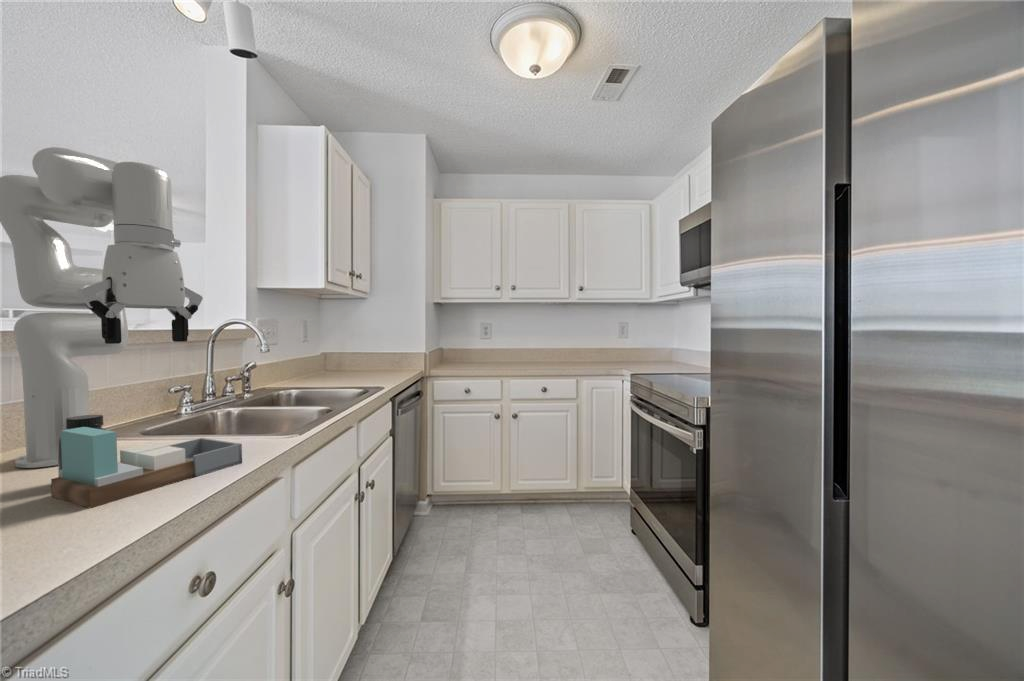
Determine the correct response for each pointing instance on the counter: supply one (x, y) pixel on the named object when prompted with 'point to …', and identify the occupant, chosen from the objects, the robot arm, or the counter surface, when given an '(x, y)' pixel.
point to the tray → (211, 454)
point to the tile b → (161, 458)
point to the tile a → (131, 456)
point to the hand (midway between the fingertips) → (148, 342)
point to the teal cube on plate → (93, 457)
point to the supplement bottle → (78, 422)
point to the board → (119, 485)
